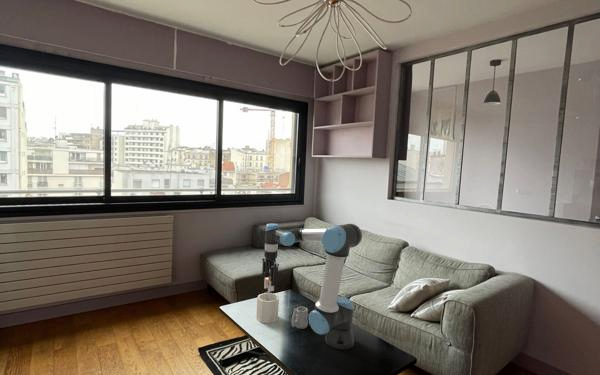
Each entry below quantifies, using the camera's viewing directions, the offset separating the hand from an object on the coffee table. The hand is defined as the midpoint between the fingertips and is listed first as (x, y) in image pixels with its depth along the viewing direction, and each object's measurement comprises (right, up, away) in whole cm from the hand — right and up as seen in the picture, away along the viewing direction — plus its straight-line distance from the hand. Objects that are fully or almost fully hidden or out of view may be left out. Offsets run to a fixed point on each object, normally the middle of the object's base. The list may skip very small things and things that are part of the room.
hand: (268, 289), depth 196 cm
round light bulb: (-1, -11, +1) cm, 11 cm away
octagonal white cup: (-2, -17, +3) cm, 18 cm away
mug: (+17, -20, -6) cm, 27 cm away
